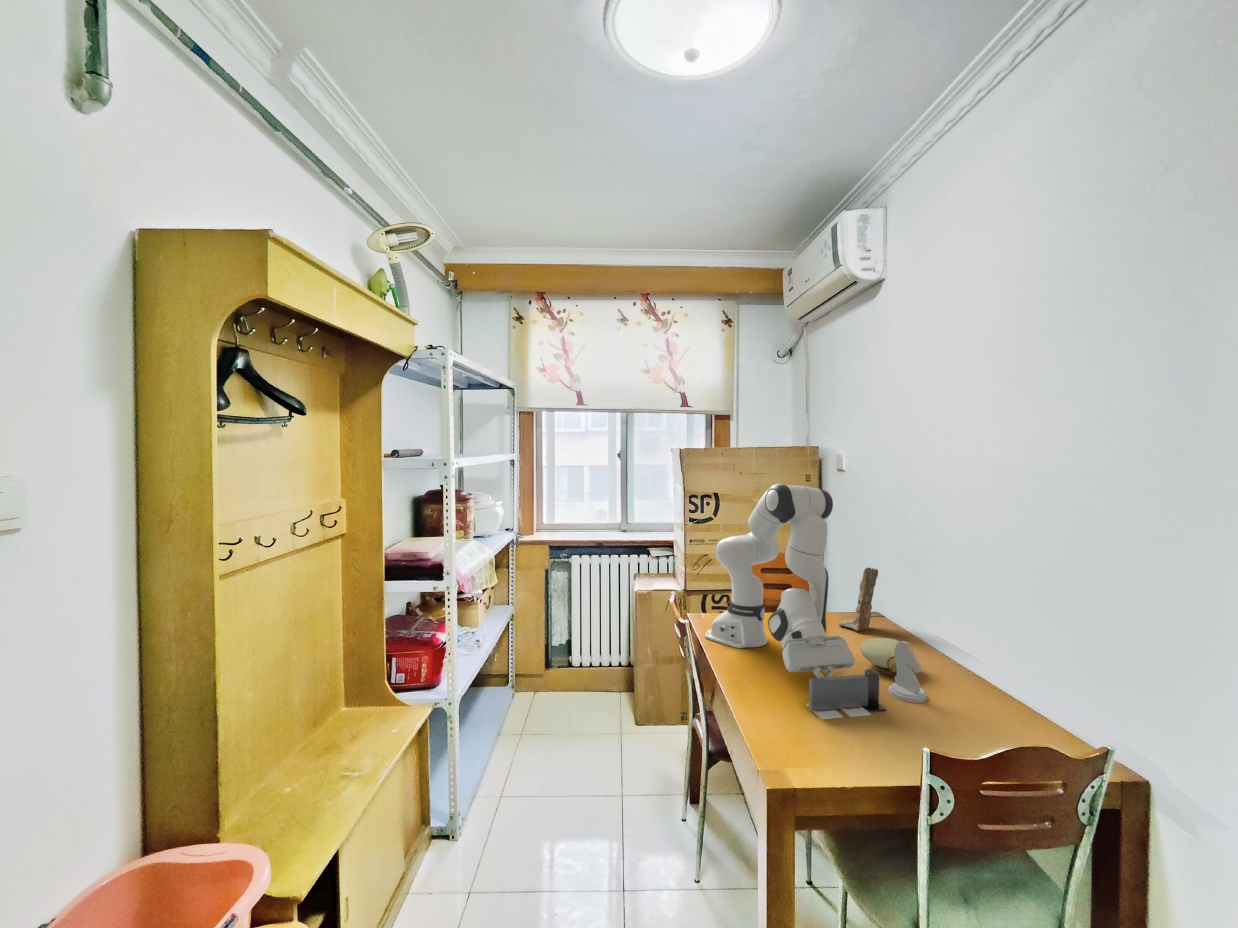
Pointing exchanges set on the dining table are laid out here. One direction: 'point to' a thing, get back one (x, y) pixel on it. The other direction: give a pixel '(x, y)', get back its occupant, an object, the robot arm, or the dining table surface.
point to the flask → (881, 653)
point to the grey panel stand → (844, 691)
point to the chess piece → (906, 675)
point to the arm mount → (874, 709)
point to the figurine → (863, 601)
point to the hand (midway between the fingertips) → (828, 684)
